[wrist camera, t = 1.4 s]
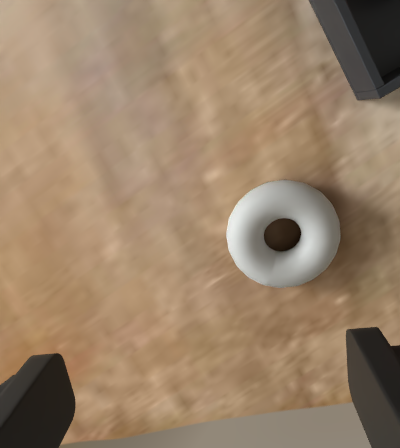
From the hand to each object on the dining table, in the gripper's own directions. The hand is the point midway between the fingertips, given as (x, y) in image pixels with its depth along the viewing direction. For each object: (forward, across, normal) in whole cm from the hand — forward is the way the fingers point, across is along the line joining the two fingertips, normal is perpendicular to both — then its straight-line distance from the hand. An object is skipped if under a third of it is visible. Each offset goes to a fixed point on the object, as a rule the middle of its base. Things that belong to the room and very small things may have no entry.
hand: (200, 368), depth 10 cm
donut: (+25, -5, +5) cm, 26 cm away
